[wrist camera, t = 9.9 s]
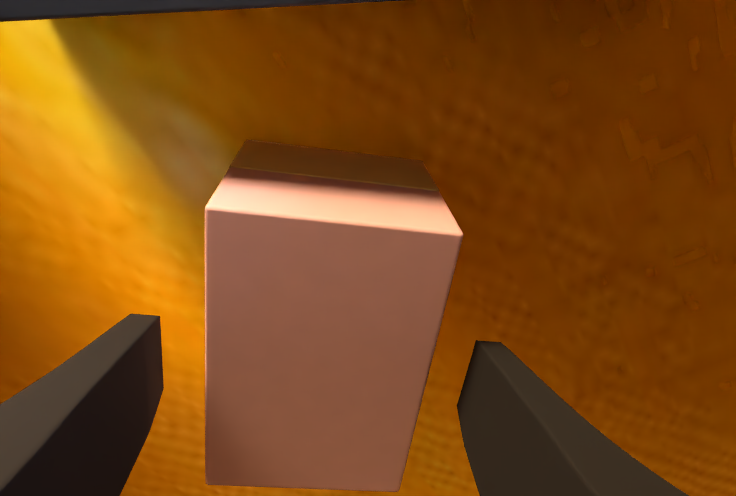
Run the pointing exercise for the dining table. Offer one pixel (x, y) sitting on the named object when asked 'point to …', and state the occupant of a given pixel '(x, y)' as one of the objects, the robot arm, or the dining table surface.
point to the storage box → (137, 7)
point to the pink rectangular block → (320, 315)
